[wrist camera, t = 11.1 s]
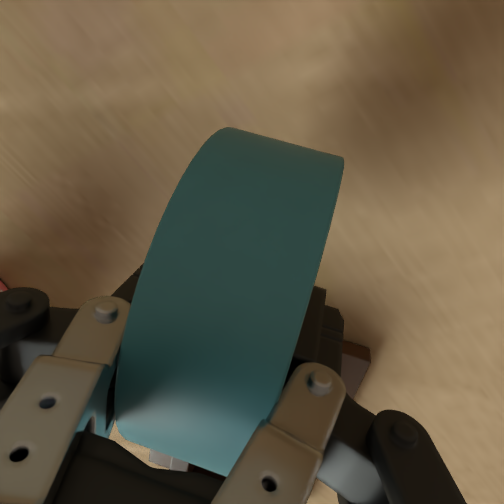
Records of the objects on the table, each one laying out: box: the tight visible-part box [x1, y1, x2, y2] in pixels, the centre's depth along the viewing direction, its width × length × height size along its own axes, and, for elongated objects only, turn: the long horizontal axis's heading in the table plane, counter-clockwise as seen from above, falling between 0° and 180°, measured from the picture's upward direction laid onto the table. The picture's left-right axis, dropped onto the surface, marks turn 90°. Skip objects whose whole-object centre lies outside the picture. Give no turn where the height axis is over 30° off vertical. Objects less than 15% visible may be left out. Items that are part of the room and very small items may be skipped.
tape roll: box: [114, 127, 344, 477], centre depth 13 cm, size 4×10×10 cm, turn 168°
